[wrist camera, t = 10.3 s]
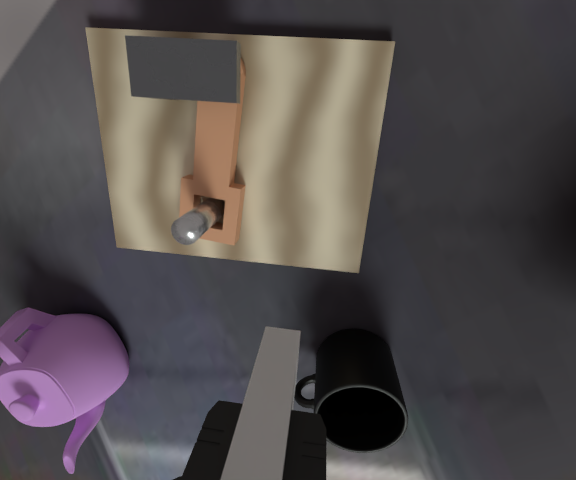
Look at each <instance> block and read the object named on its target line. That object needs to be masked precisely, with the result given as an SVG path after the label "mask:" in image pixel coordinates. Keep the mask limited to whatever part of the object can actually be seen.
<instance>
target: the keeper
mask: <svg viewBox="0 0 576 480" xmlns="http://www.w3.org/2000/svg"><path fill="white" fill-rule="evenodd" d="M125 41H126V51H127V60H128V70H129V79H130V89H131V96H132V97H142V98H152V99H164V100H191V101H206V102H222V103H238V104H240V64H241V44H240V43H239V42H238V41H233V40H212V39H191V38H169V37H148V36H127V35H125Z"/></svg>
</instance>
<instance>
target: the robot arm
mask: <svg viewBox="0 0 576 480" xmlns="http://www.w3.org/2000/svg"><path fill="white" fill-rule="evenodd" d="M300 334H301V331H298V330H290V329H282V328H274V327H266V328H265V331H264V334H263V338H262V341H261V344H260V348H259V351H258V355H257V358H256V361H255V365H254V368H253V371H252V375H251V378H250V382H249V385H248V388H247V392H246V395H245V398H244V402H243V404H240V403H233V402H226V401H218V402H217V403H216V404H215V405H214V406H213V407H212V409H211V410H210V411H209V412H208V414H207V416H206V418H205V421H204V423H203V426H202V430H201V431H200V433H199V436H198V438H197V442H196V443H195V446H194V448H193V451H192V453H191V455H190V458H189V460H188V463H187V465H186V468H185V470H184V473H183V475H182V476H180V477H178V478H176V479H173V480H326V427H325V424H324V422H323V419H322V417H321V415H320V414H315V413H308V412H301V411H294V410H293V403H294V395H295V386H296V377H297V366H298V355H299V344H300Z"/></svg>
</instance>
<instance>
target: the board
mask: <svg viewBox="0 0 576 480" xmlns="http://www.w3.org/2000/svg"><path fill="white" fill-rule="evenodd" d="M86 35H87V42H88V49H89V56H90V63H91V70H92V77H93V84H94V91H95V98H96V105H97V112H98V119H99V126H100V133H101V140H102V147H103V154H104V161H105V168H106V175H107V182H108V189H109V196H110V203H111V210H112V217H113V224H114V231H115V238H116V245H117V247H118V248H128V249H137V250H147V251H156V252H165V253H175V254H184V255H194V256H203V257H212V258H222V259H231V260H241V261H250V262H259V263H269V264H278V265H288V266H297V267H306V268H316V269H325V270H335V271H344V272H353V273H359V267H360V261H361V255H362V248H363V242H364V236H365V229H366V223H367V217H368V210H369V204H370V198H371V191H372V185H373V179H374V172H375V166H376V160H377V153H378V147H379V141H380V134H381V128H382V122H383V115H384V109H385V103H386V96H387V90H388V84H389V77H390V71H391V65H392V58H393V52H394V46H395V42H394V41H372V40H350V39H328V38H306V37H284V36H262V35H240V34H218V33H196V32H174V31H152V30H130V29H108V28H86ZM125 35H127V36H148V37H169V38H191V39H212V40H233V41H238V42H239V43H240V44H241V59H242V61H243V63H244V65H245V69H246V78H245V87H244V97H243V106H242V115H241V125H240V134H239V144H238V153H237V162H236V172H235V181H234V183H237V184H242V185H246V187H245V195H244V203H243V211H242V220H241V228H240V236H239V240H238V241H237V243H236V244H235V245H229V244H224V243H219V242H214V241H209V240H204V239H198V240H197V241H196V242H194V243H193V244H191V245H183V244H180V243H179V242H177V241H176V240H175V239H174V237H173V236H172V233H171V226H172V224H173V222H174V221H175V220H177V219H178V218H179V213H180V190H181V178H182V177H184V176H186V175H189V174H190V175H193V170H194V152H195V135H196V118H197V101H191V100H164V99H152V98H142V97H132V96H131V89H130V79H129V70H128V60H127V51H126V41H125ZM207 198H209V197H205V196H201V203H202V202H203V201H205V200H206V199H207ZM224 202H225V200H224ZM223 220H224V215H223V216H222V217H221V218H220V219H219V220H218V221H217V222H219V223H223Z"/></svg>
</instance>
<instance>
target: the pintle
mask: <svg viewBox="0 0 576 480" xmlns="http://www.w3.org/2000/svg"><path fill="white" fill-rule="evenodd" d="M224 209H225V202H224V200H220V199H215V198H210V197H209V198H207V199H206V200H205V201H203V202H202V203H200V204H199V205H197V206H196V207H194V208H193V209H191V210H190V211H188V212H187V213H185V214H184V215H183V216H181V217H180V218H178V219H177V220H175V221H174V222H173V224H172V226H171V233H172V236H173V237H174V239H175V240H176V241H177V242H179V243H180V244H183V245H191V244H193V243H194V242H196V241H197V240H198V239H199V238H200V237H201V236H202V235H203V234H204V233H205V232H206V231H207V230H208V229H209V228H210V227H211V226H213V225H214V224H215V223H216V222H217V221H218V220H219V219H220V218H221V217H222V216H223V215H224Z"/></svg>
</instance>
